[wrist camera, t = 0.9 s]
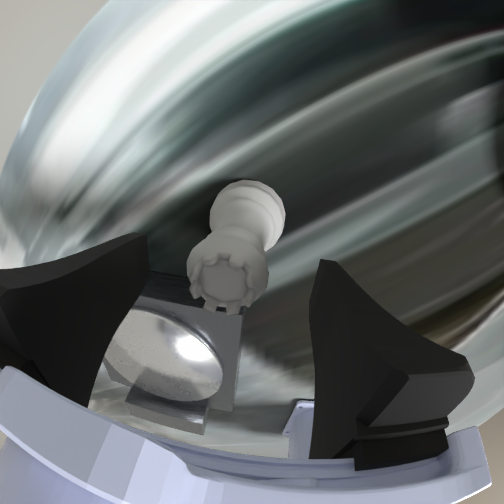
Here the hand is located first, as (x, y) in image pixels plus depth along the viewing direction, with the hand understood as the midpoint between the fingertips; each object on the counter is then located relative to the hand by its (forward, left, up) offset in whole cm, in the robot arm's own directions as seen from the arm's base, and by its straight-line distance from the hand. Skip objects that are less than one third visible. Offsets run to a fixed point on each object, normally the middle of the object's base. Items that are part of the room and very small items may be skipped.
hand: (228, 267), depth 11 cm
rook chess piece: (0, 0, -7) cm, 7 cm away
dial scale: (-14, +6, -7) cm, 16 cm away
